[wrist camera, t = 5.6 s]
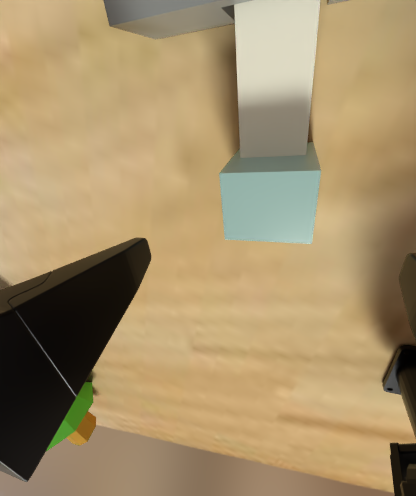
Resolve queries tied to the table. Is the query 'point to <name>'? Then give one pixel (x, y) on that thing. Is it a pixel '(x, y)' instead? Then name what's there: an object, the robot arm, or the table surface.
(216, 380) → the table surface
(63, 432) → the decorative tree
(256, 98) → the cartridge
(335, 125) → the table surface
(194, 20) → the housing
